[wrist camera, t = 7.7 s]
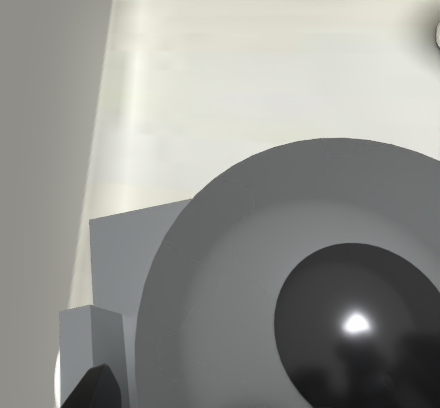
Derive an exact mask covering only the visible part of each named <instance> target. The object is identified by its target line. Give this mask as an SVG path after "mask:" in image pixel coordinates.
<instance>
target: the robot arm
mask: <svg viewBox="0 0 440 408" xmlns="http://www.w3.org/2000/svg"><path fill="white" fill-rule="evenodd" d="M60 408H122V399H121V390H120V386H119V384H118V382H117V380H116V378H115V376H114V374H113V372H112V370H111V368H110V366H109V365H108V364H107V363H103V364H100V365H97V366H94V367H91V368H90V369H88V371H87V372H86V373H85V375H84V376H83V377H82V379H81V380H80V381H79V383H78V384H77V385H76V387H75V388H74V389H73V391H72V392H71V393H70V395H69V396H68V398H67V399H66V400H65V402H64V403H63V404H62V406H61V407H60Z"/></svg>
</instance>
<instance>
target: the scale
mask: <svg viewBox="0 0 440 408" xmlns="http://www.w3.org/2000/svg"><path fill="white" fill-rule="evenodd" d="M191 200H192V199H188V200H183V201H178V202H173V203H169V204H164V205H159V206H154V207H149V208H144V209H140V210H135V211H130V212H125V213H120V214H115V215H111V216H106V217H101V218H96V219H91V220H89V226H90V246H91V265H92V285H93V304H94V306H93V305H87V306H82V307H78V308H73V309H69V310H64V311H60V312H59V318H60V319H59V320H60V349H59V352H58V356H57V360H56V367H55V378H54V389H55V401H56V407H57V408H60V407H61V406H62V404H63V403H64V402H65V400H66V399H67V398H68V396H69V395H70V393H71V392H72V391H73V389H74V388H75V387H76V385H77V384H78V383H79V381H80V380H81V379H82V377H83V376H84V375H85V373H86V372H87V371H88V369H90V368H91V367H94V366H97V365H100V364H103V363H107V364H108V365H109V366H110V368H111V370H112V372H113V374H114V376H115V378H116V380H117V382H118V384H119V386H120V390H121V399H122V408H139V401H138V394H137V387H136V379H135V336H136V326H137V316H138V310H139V306H140V301H141V297H142V292H143V288H144V284H145V281H146V278H147V276H148V273H149V270H150V267H151V264H152V261H153V259H154V257H155V255H156V253H157V251H158V249H159V247H160V245H161V243H162V241H163V239H164V237H165V235H166V233H167V232H168V230H169V229H170V227H171V226H172V224H173V223H174V221H175V220H176V218H177V217H178V215H179V214H180V213H181V211H182V210H183V209H184V208H185V207H186V206H187V205H188V203H189V202H190V201H191Z"/></svg>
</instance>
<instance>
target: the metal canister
mask: <svg viewBox="0 0 440 408" xmlns="http://www.w3.org/2000/svg"><path fill="white" fill-rule="evenodd" d="M135 379H136V387H137V394H138V401H139V408H440V161H438V160H436V159H433V158H431V157H428V156H426V155H423V154H421V153H418V152H416V151H412V150H409V149H405V148H402V147H399V146H395V145H392V144H386V143H381V142H376V141H371V140H362V139H351V138H319V139H312V140H304V141H297V142H293V143H289V144H285V145H281V146H277V147H273V148H271V149H268V150H266V151H263V152H260V153H258V154H255V155H253V156H251V157H249V158H247V159H245V160H243V161H241V162H239V163H237V164H235V165H233V166H232V167H230V168H229V169H227V170H226V171H225V172H223V173H222V174H220V175H219V176H217V177H216V178H214V179H213V180H212V181H211V182H210V183H209V184H208V185H206V186H205V187H204V188H203V189H202V190H201V191H200V192H199V193H197V194H196V195H195V196H194V198H193V199H192V200H191V201H190V202H189V203H188V205H187V206H186V207H185V208H184V209H183V210H182V211H181V213H180V214H179V215H178V217H177V218H176V220H175V221H174V223H173V224H172V226H171V227H170V229H169V230H168V232H167V233H166V235H165V237H164V239H163V241H162V243H161V245H160V247H159V249H158V251H157V253H156V255H155V257H154V259H153V261H152V264H151V267H150V270H149V273H148V276H147V278H146V281H145V284H144V288H143V292H142V297H141V301H140V306H139V310H138V316H137V326H136V336H135Z"/></svg>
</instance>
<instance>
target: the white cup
mask: <svg viewBox="0 0 440 408" xmlns="http://www.w3.org/2000/svg"><path fill="white" fill-rule="evenodd" d="M436 43H437V44H438V46H439V48H440V23H439V25H438V27H437V31H436Z"/></svg>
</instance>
